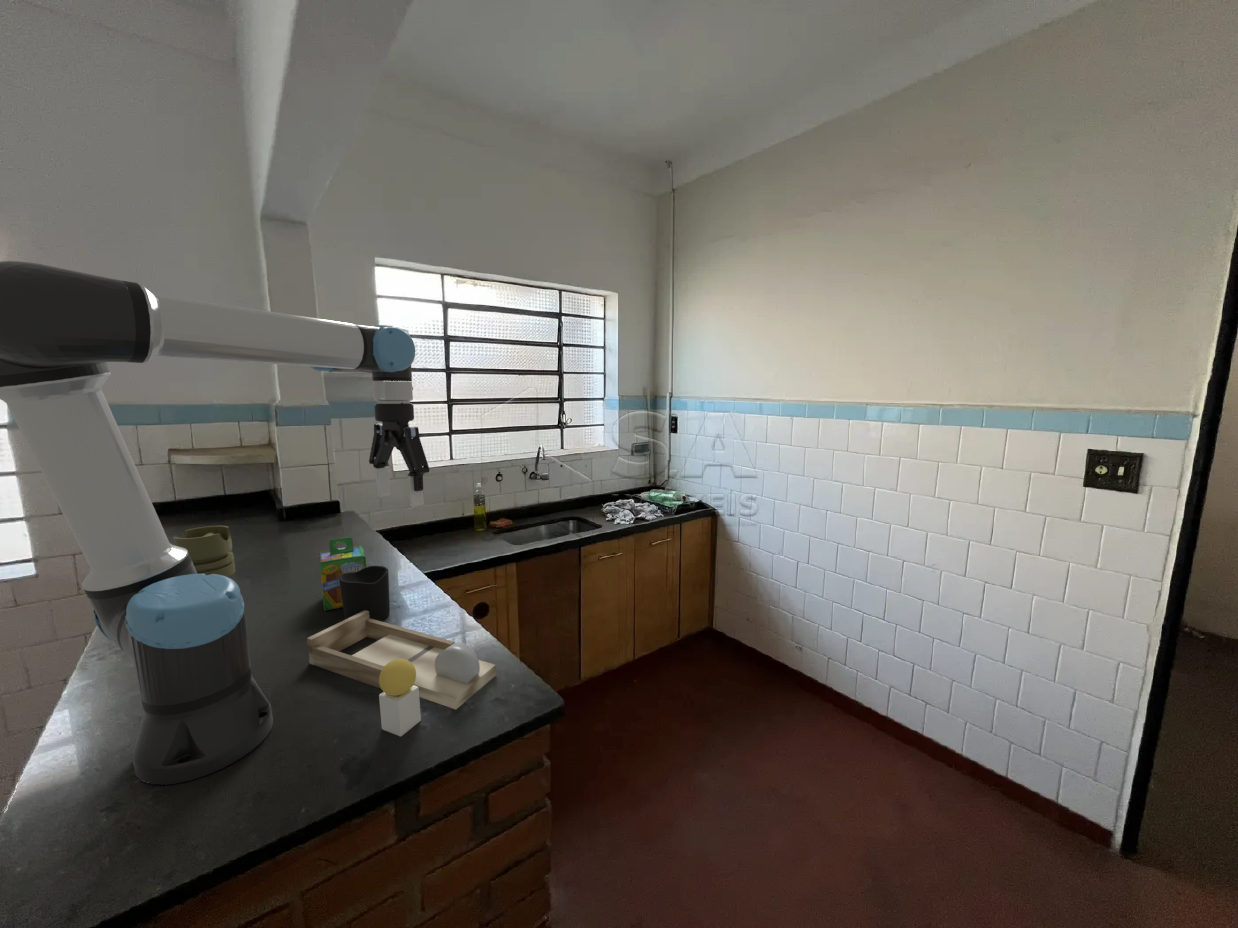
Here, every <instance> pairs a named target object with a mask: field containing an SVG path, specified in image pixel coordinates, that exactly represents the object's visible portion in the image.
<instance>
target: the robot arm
mask: <svg viewBox="0 0 1238 928" xmlns="http://www.w3.org/2000/svg"><path fill="white" fill-rule="evenodd" d="M415 345H416V344H415V342H414V340H413V338H412V337H411V335H410V333H409V331H408V329H407V328H405V327H403V326H400V325H399V326H398V325H388V324H387V325H386V324H375V325H371V326H369V325H363V324H354V323H352V322H351V323H349V322H344V321H342V322H341V321H338V320H336V321H335V320H329V319H323V318H317V317H310V316H305V315H304V316H302V315H296V314H289V313H283V312H276V311H269V310H262V309H258V308H257V309H255V308H249V307H244V306H243V307H242V306H236V305H228V304H222V303H216V302H207V301H204V300H203V301H202V300H196V299H188V298H181V297H175V296H170V295H169V296H168V295H163V294H157V293H156V294H155V293H152V292H151V291H150V290H149V289H147V288H146V287H145V286H144V285H143V284H142V283H140V282H134V281H127V280H121V279H116V278H109V277H105V276H100V275H96V274H91V273H85V272H81V271H80V272H79V271H76V270H70V269H65V268H61V267H56V266H52V265H47V264H42V263H36V262H31V261H30V262H29V261H20V260H19V261H15V260H5V261H3V260H2V261H0V400H1V401H2V402H3V403H5V404H6V406H7V407H8V410H9V411H10V413H11V415H12V417H13V420H14V422H15V423H16V426H17V427H18V429H19V431H20V433H21V435H22V437H23V438H24V441H25V443H26V445H27V447H28V449H29V451H30V452H31V455H32V456H33V458H34V460H35V462H36V464H37V466H38V468H39V470H40V472H41V475H42V476H43V477H44V480H45V482H46V483H47V486H48V487H49V489H50V492H51V494H52V496H53V497H54V500H55V502H56V503H57V505H58V507H59V509H60V511H61V513H62V515H63V517H64V519H65V520H66V523H67V524H68V527H69V529H70V530H71V533H72V535H73V536H74V538H75V541H76V542H77V545H78V547H79V548H80V551H81V552H82V554H83V556H84V559H85V560H86V562H87V564H88V567H90V571H89V573H88V574H87V575H86V576H85V578H84V579H83V581H82V583H81V587H82V589H83V591H84V592H85V594H86V597H87V599H88V600H89V602H90V604H91V606H92V608H93V611H92V613H93V615H94V616H93V617H94V624H95V625H96V627H97V629H99V631H100V633H101V634H103V636H104V637H106V638H107V639H108V640H109V641H111V642H113V643H114V644H115V645H116V646H117V648H119V649H120V650H121V651H122V652H123V653H124V654H125V655H126V656H127V657H128V658H129V659H130V660H131V661H132V662H133V665H134V667H135V671H136V676H137V678H136V679H137V683H138V688H139V694H140V700H141V705H142V710H143V711H142V712H143V713H142V717H141V721H140V725H139V728H138V733H137V736H136V740H135V744H134V747H133V752H132V765H133V769H134V770H133V771H134V775H135V774H136V775H135V777H136V776H137V777H138V778H139V779H140V780H143V781H145V782H149V783H152V784H151V785H153V784H158V785H157V786H162V785H163V784H165V785H174V784H179V783H185V782H190V781H193V780H196V779H199V778H203V777H205V776H207V775H210V774H212V773H215V772H217V771H219V770H222V769H224V768H226V767H227V766H230V765H231V764H233V763H235V762H237V761H238V760H239V761H240V759H242V758H244V757H245V756H246V755H248V754H249V753H251V752H252V751H253V750H254V749H256V748H257V747H258V746H259V745H260V744H261V743H263V741H264V740H265V739H266V738H267V737H268V735H269V734H270V732H271V730H272V728H273V724H274V717H273V709H272V705H271V703H270V702H269V701H270V700H268V699H267V697H266V696H265V694H264V692H263V691H262V689H261V688H260V686H259V685H258V682H256V679H254V677H253V672H252V664H251V659H250V658H251V657H250V649H249V642H248V635H247V627H246V619H245V601H244V598H243V596H242V594H241V589H240V587H239V585H238V583H236V581H235V580H234V579H232V578H230V577H226V576H222V575H217V574H210V575H206V574H197V572H196V569H195V567H194V565H193V562H192V560H191V558H190V556H189V553H188V551H187V550H186V549H185V548H182V547H178V546H175V545H174V544H172V543H170V541H169V538H168V537H167V536H168V535H167V533H166V532H165V529H164V527H163V525H162V522H161V520H160V518H159V515H158V514H157V512H156V508H155V507H154V505H153V503H152V501H151V498H150V496H149V493H148V491H147V488H146V486H145V485H144V482H143V480H142V478H141V476H140V473H139V470H138V468H137V466H136V464H135V462H134V459H133V457H132V456H131V453H130V450H129V448H128V447H127V443H126V442H125V439H124V437H123V435H122V432H121V431H120V427H119V426H118V423H117V421H116V419H115V417H114V414H113V413H112V409H111V408H110V406H109V403H108V401H107V399H106V396H105V394H104V392H103V390H102V389H103V386H104V384H105V383H106V381H107V380H108V379H109V378H110V377H111V374H112V373H111V371H110V369H109V367H108V363H131V364H132V363H133V364H134V363H136V364H146V363H148V362H149V361H151V360H152V359H154V358H155V357H166V358H167V357H168V358H182V359H184V358H185V359H197V360H199V359H200V360H210V361H212V360H213V361H226V362H238V363H240V362H241V363H242V362H243V363H255V364H258V363H259V364H271V365H282V366H283V365H285V366H287V365H288V366H297V367H298V366H301V367H310V368H311V369H312V370H314V371H318V372H327V373H367V374H368V373H369V374H371V375H372V376H371V377H372V394H373V395H372V396H373V400H374V401H376V403H375V404H374V405H373V407H374V419H375V421H376V422H381V423H374V424H373V437H372V443H371V449H370V454H369V459H368V462H369V465H373V468H375V470H374V471H375V483H376V496H377V498H379V499H381V498H384V497H391V496H392V494H391V478H390V464H389V460H390V458H391V456H392V453H393V450H394V449H396V450H398V451H399V453H400V455H401V457H402V458H403V460H404V463H405V465H406V466H407V469H408V471H409V473H407V478H408V494H409V507H410V508H415V507H419V506H424V505H425V499H424V477H423V476H424V475H425V474H428V473H430V467H429V464H428V460H427V457H426V454H425V450H424V447H423V444H422V441H421V437H420V432H419V426H410V424H409V422H412V421H414V419H415V409H414V404H413V403H412V402H411V401H413V400H414V395H413V390H414V387H413V375H412V374H413V373H412V372H413V371H412V364H413V363H414V360H415V357H416V346H415ZM410 402H411V403H410ZM137 777H136V778H137ZM138 778H137V779H138ZM139 779H138V780H139ZM140 780H139V781H140ZM159 784H161V785H159ZM165 785H164V786H165Z"/></svg>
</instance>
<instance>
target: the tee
mask: <svg viewBox="0 0 1238 928" xmlns="http://www.w3.org/2000/svg"><path fill="white" fill-rule="evenodd" d="M378 700H379V711H380V713H379V714H380V723H381V729H382V730H383V731H386V732H388V733H390V734H393V735H396V736H398V737H402V736H404V735H405V734H406V733H407V732H409V731H410V730H412V729H413V727H415V726H416V725H417V724H418V723H420V722H421V721H422V716H421V702H420V697H419V687H417V686H414V685H413V686H412V687H411V688H410V689H409V690H408V691H407V692H406V693H404V694H401V695H398V696H392V695H388V694H386V693H385V692H384V691H382V692H381V693H379V695H378Z"/></svg>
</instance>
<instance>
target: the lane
mask: <svg viewBox="0 0 1238 928" xmlns="http://www.w3.org/2000/svg"><path fill="white" fill-rule="evenodd" d="M365 638H370V639H374V640H376V641H375V642H373V643H371V644H370V645H368V646H366V647H364V648H362V649H360V650H359V651H357V652H355V653H354V654H352V655H350V654H347V653H345V652H342V651H343V650H345V649H347V648H348V647H350V646H352V645H354V644H356V643H358V642H360V641H362V640H363V639H365ZM306 642H307V651H308V652H307V653H308V658H309V659H308V660H309V661H308V662H309V664H310V665H312V666H315V667H318V668H321V669H323V670H325V671H326V670H327V671H329V672H333V673H335V674H337V675H341V676H343V677H346V678H350V679H352V680H355V681H358V682H360V683H364V684H367V685H369V686H372V687H375V688H378V689H381V687H380V684H379V676H380V673H381V671H382V669H383V668H384V666H385V665H386V664H388V663H389V662H391V661H393V660H395V659H405V660H408V661H410V662H411V663H412V664H413V665H414V667H415V670H416V679H415V682H414V684H413V685H414V686H417V687H419V698H422V699H424V700H427V701H430V702H433V703H436V704H438V705H442V706H445V707H447V708H450V709H452V710H458V709H459V708H460V707H461V706H462V705H464V703H465V702H467V701H468V700H469V699H470V698H472V696H474V695H475V694H477V692H479V690H481V689H482V688H483V687H484V686H485V685H487V684H488V683H489V682H490V681H491V680H493V679H494V677H496V676H497V668H496V667H497V665H496V664H494V663H491V662H487V661H484V660H480V659H478V660H479V664H480V671H479V674H478V675H477V676H476V677H475V678H473V679H472V680H471V681H470V682H469V683H467V684H464V683H461V682H458V681H454V680H451V679H448V678H445V677H442V676H439V675H437V674H436V671H435V659H436V657H437V655H438V654H439V653H441V652H442V651H443V650H445V649H446V648H448V647H449V646H451V645H452V644H454V643H456V642H455V641H454V640H450V639H446V638H442V637H439V636H436V635H431V634H428V633H425V632H421V631H417V630H413V629H410V628H406V627H403V626H400V625H395V624H392V623H389V622H384V621H378V620H374V619H370V616H369V611H366V610H364V611H362V612H360V613H358V614H356V615H354V616H352V617H350V618H348V619H346V620H345V619H343V620H341V621H340V622H338V623H336V624H334V625H331V626H329V627H328V628H324V629H323V630H321V631H319V632H316V633H315V634H313V635H310V636H308V637H307V638H306ZM381 690H382V689H381Z"/></svg>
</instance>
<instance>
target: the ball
mask: <svg viewBox="0 0 1238 928" xmlns="http://www.w3.org/2000/svg"><path fill="white" fill-rule="evenodd" d="M415 679H416V670H415V667H414V665H413V664H412V663H411V662H410V661H408V660H405V659H395V660H393V661H391V662H389V663H388V664H386V665H385V666H384V668H383V669H382V671H381V673H380V676H379V684H380V687H381V690H382V692H385V693H386V694H388V695H392V696H398V695H401V694H404V693H406V692H407V691H408V690H409V689H410V688H411V687H412V686H413V684H414V682H415Z"/></svg>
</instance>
